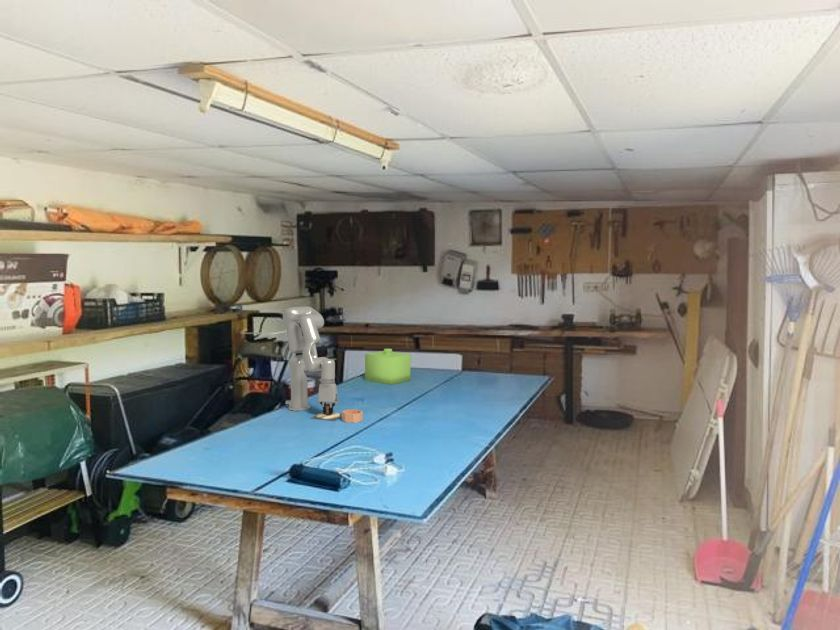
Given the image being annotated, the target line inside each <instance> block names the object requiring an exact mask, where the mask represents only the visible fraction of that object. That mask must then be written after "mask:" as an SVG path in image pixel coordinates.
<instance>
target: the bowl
mask: <svg viewBox="0 0 840 630" xmlns="http://www.w3.org/2000/svg"><path fill="white" fill-rule="evenodd" d="M341 414H342V417H341V420H342V422H345V423H353V424H354V423H361V422H362V421H363V419H364V418H363V417H364V415H363V414H364V412H363V410H359V409H345V410H342V411H341Z"/></svg>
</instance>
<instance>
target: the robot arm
mask: <svg viewBox="0 0 840 630" xmlns="http://www.w3.org/2000/svg"><path fill="white" fill-rule="evenodd" d="M297 322H299V324H298V323H297ZM282 323H283V325H284V328H285V330H286V335H287V343H288V347H289V351H290V353H292V354H298V355H294V356H292V357H291V358H290V359H289V362H288V366H289V372H290V400H287V399H286V400H285V405H288V410H290V411H295V412H299V411H300V412H301V411H305V410H306V411H307V410H309V409H310V408H311V406H310V405H308V377H307V375H306V373H305V372H311V373H315V372H320V373H321V375H320V378H319V379H318V381H319V382H320V383H319V385H318V386H319V387H318V393H317V400H316V402H317V403H319V404H320V405H321V406H322V412H323V414H326V404H327V403H328V404H330V408H329V415H331V414H333V412H334V407H335V406H336V405H338V404H340V401H339V399H338V388H337V384H336V380H335V379H336V362H335V360H334V359H331V358H328V357H326V356H321V357H318V351H317V346H316V344H317V343H319V342H320V340H321V337H320V334H319V331H318V329H322V328H323V327H324V325H325V319H324V317H323V315H322V314H321V313H319V311H317V310H316V309H314V308H313V307H311V306H306V305H305V306H294V307H293V306H292V307H288V308H286V309H285V310H284V312H283V313H282ZM299 354H301V355H299Z"/></svg>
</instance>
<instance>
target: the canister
mask: <svg viewBox="0 0 840 630" xmlns="http://www.w3.org/2000/svg"><path fill="white" fill-rule="evenodd" d="M364 357H365V358H364V361H365V362H364V380H365V381H366V382H374V383H378V384H385V385H390V386H392V385H397V384H400V383H405V382H409V381H411V369H412V368H411V367H412V366H411V363H412V362H411V361H412V360H411V357H412V355H411V354H410V353H405V352H404V353H402V352H396V351H393V349H392V348H384V349H383V351H382V350H381V351H375V352H370V353H365V355H364Z"/></svg>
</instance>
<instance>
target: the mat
mask: <svg viewBox="0 0 840 630" xmlns="http://www.w3.org/2000/svg"><path fill="white" fill-rule="evenodd" d="M339 414H340V417H339V418H336V419H328V420H326V419H319V418H317V417H316V415H314V416H312V417H310V418H309V419H311V420H320V421H329V422H336V421H337V420H339V419H342V413H339Z"/></svg>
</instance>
